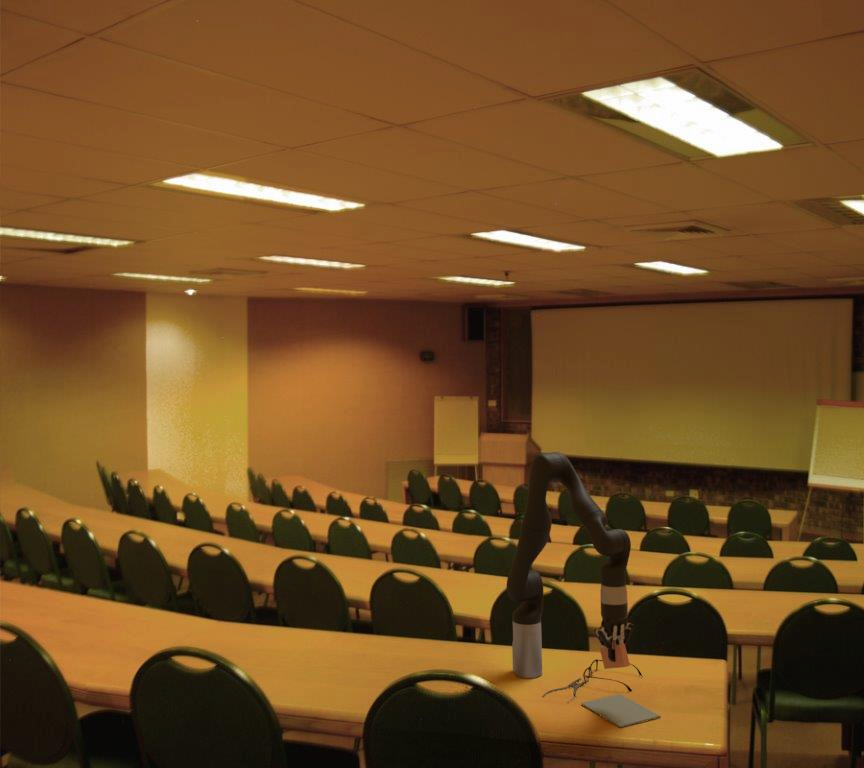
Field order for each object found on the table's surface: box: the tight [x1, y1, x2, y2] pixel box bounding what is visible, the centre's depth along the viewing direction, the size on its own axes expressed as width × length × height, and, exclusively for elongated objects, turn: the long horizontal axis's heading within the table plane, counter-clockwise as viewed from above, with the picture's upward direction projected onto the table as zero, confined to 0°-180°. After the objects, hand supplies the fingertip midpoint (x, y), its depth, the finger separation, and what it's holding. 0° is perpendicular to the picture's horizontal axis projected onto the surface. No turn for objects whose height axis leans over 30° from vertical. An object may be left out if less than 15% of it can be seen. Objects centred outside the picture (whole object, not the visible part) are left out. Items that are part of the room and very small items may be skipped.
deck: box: [599, 644, 631, 670], centre depth 232 cm, size 10×2×6 cm, turn 25°
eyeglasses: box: [582, 658, 643, 692], centre depth 255 cm, size 16×16×4 cm
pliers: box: [541, 677, 590, 702], centre depth 249 cm, size 10×1×20 cm
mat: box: [580, 693, 661, 729], centre depth 232 cm, size 18×14×1 cm
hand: (615, 660), depth 231 cm, fingers closed on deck, 1 cm apart
